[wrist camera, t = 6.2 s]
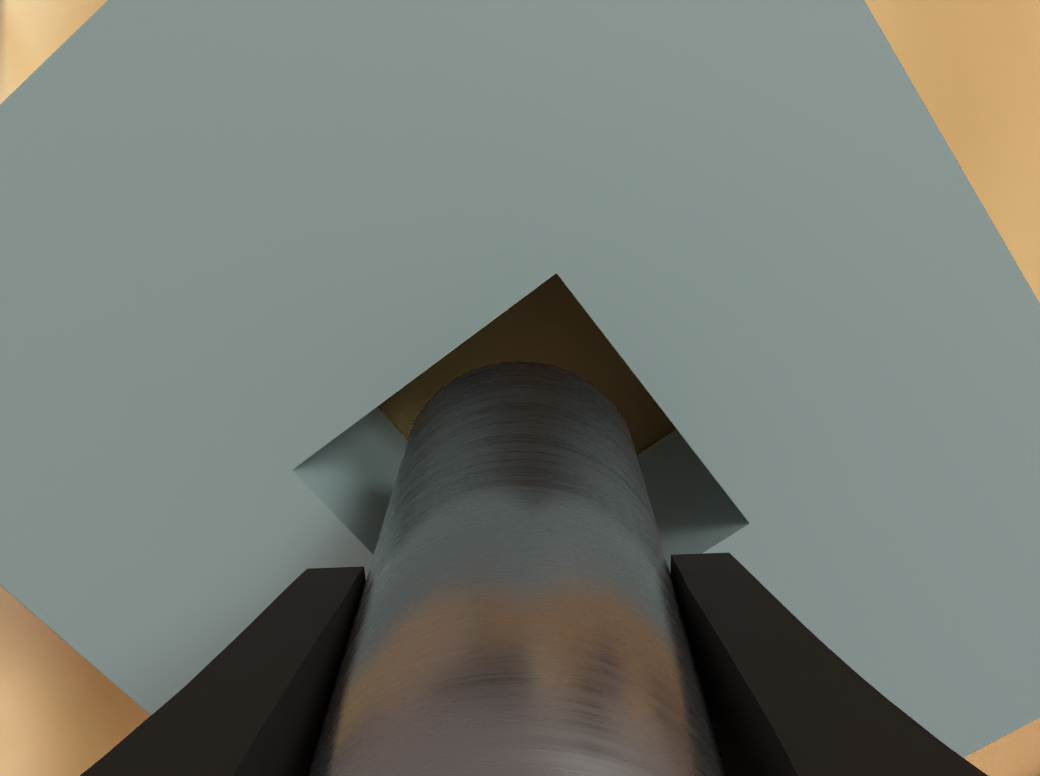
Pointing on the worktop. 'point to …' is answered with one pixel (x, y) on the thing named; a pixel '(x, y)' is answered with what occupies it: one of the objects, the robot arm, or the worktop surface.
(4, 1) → the worktop surface
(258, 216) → the hole block
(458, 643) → the long pin
